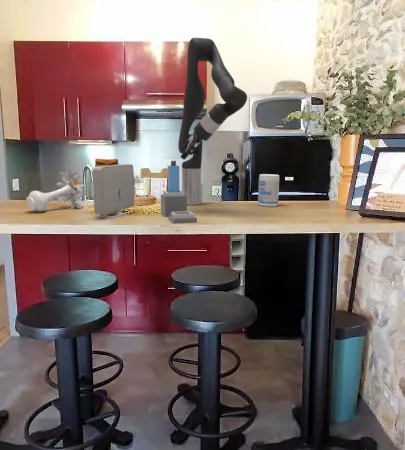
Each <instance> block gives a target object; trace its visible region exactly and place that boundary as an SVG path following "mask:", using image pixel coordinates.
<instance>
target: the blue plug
mask: <svg viewBox="0 0 405 450" xmlns="http://www.w3.org/2000/svg"><path fill="white" fill-rule="evenodd" d="M180 189H181V188H180V165H177V160H170V165H167V191H168V193H171V192H180V191H181V190H180Z"/></svg>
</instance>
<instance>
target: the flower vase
mask: <svg viewBox="0 0 405 450" xmlns="http://www.w3.org/2000/svg"><path fill="white" fill-rule="evenodd" d="M59 174H60V175H62V176H61V182H57V183H56V186H57V187H59V189H56V190H53V191H50V192H42V191H40V190H32V191H30V192H29V194H28V196H27V197H26V198H25V199H26V200H25V201H26V204H27V207H28V208H29V210H31V211H32V212H33V211H35V212H38V213H42V212H43V211H45V210H46V208H47V206H48V204H49V203H50V202H51V201H54V199H57V198H59V197H62V196H65V195H66V196H65V198H64V202H69V201H70V203H71V204H70V205H68V206H66V207H65V208H66V209H71V210H72V209H74V208H77V209H82V207H83V205H80V204H79V203H77V202H76V199H80V198H81V197H82V196H81V194H79V193H81V192H82V191H83V188H81V187H84V186H85V184H84V183H83V182H81V181H80V180H81V177H80V175H78V172H72V170H71V169H68V170H66V172H63V171H59ZM76 175H77V177H75V176H76Z"/></svg>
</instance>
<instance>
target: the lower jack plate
mask: <svg viewBox="0 0 405 450" xmlns="http://www.w3.org/2000/svg"><path fill="white" fill-rule="evenodd" d="M167 219H168V221H170V222H171V223H172V224H185V223H187V224H188V223H189V222H191V223H197V222H198V218H197V217H196V216H195V213H193V212H191V211H190V210H187V211H180V212H171V215H168V217H167Z"/></svg>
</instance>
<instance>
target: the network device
mask: <svg viewBox="0 0 405 450" xmlns="http://www.w3.org/2000/svg"><path fill="white" fill-rule="evenodd" d="M134 176H135V175H134V165H133V164H129V163H127V164H119V165H110V166H98V167H95V166H94V167H93V168H92V183H93V184H92V187H93V188H92V189H93V208H94V213H95V214H96V215H95V217H96V218H100V219H116V218H120V217H122V216H126V215H128V214H127V213H128V212H126V211H124V212H123V211H121V210H122V209H123V210H127V209H129V208H132V207H134V205H135V186H134V185H135V181H134V179H135V177H134ZM106 214H113V215H106Z"/></svg>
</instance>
